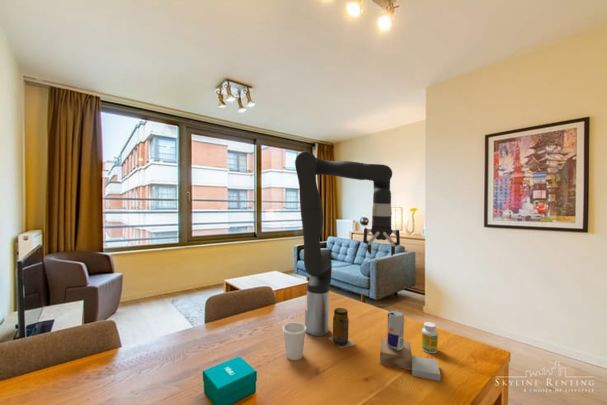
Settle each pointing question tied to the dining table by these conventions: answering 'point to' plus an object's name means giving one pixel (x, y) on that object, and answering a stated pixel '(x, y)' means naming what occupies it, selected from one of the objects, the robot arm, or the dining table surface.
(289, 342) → the dixie cup
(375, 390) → the dining table surface
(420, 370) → the slate coaster
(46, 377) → the dining table surface
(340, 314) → the condiment
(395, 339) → the energy drink
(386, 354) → the walnut base
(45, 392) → the dining table surface
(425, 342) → the supplement bottle
